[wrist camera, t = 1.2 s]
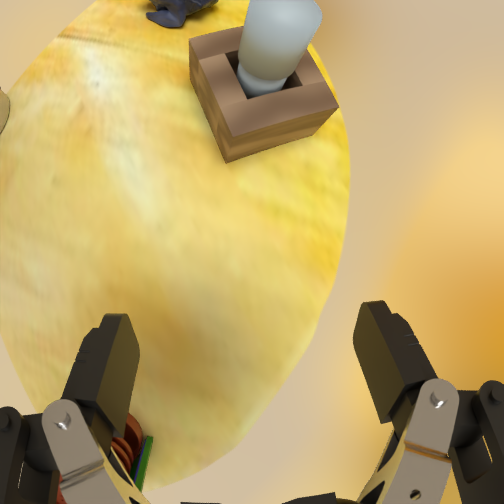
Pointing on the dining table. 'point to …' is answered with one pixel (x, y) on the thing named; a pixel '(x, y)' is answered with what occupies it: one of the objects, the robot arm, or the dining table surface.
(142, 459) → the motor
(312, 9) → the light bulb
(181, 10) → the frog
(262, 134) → the housing
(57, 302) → the dining table surface
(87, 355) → the robot arm
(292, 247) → the dining table surface
